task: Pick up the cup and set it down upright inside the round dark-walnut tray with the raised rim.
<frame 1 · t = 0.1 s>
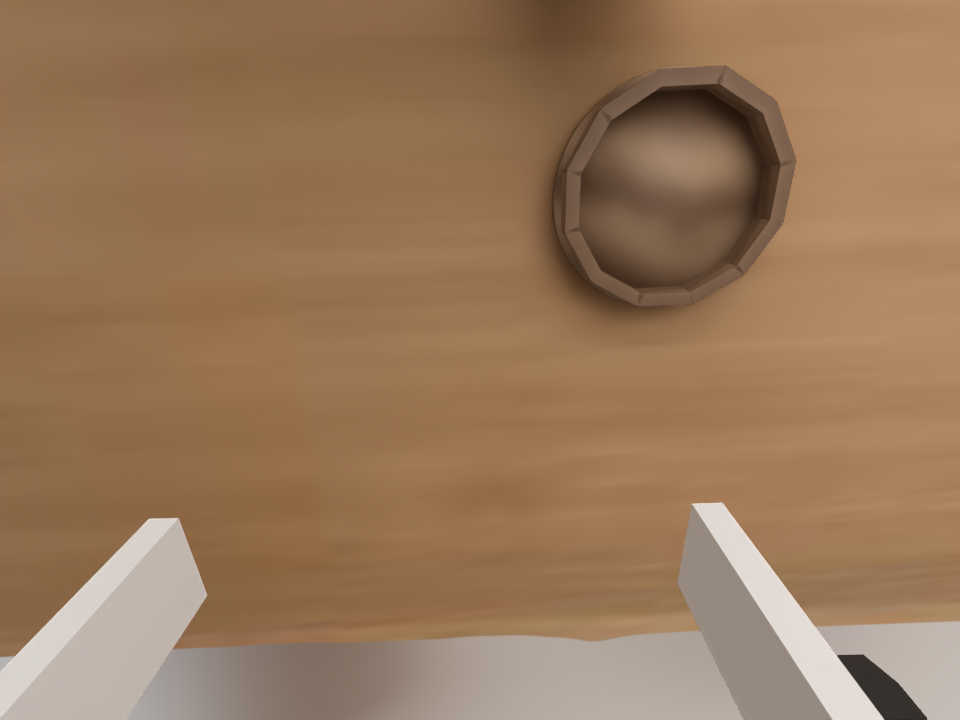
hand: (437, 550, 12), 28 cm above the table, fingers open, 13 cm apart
round tray: (662, 196, 35), on the table
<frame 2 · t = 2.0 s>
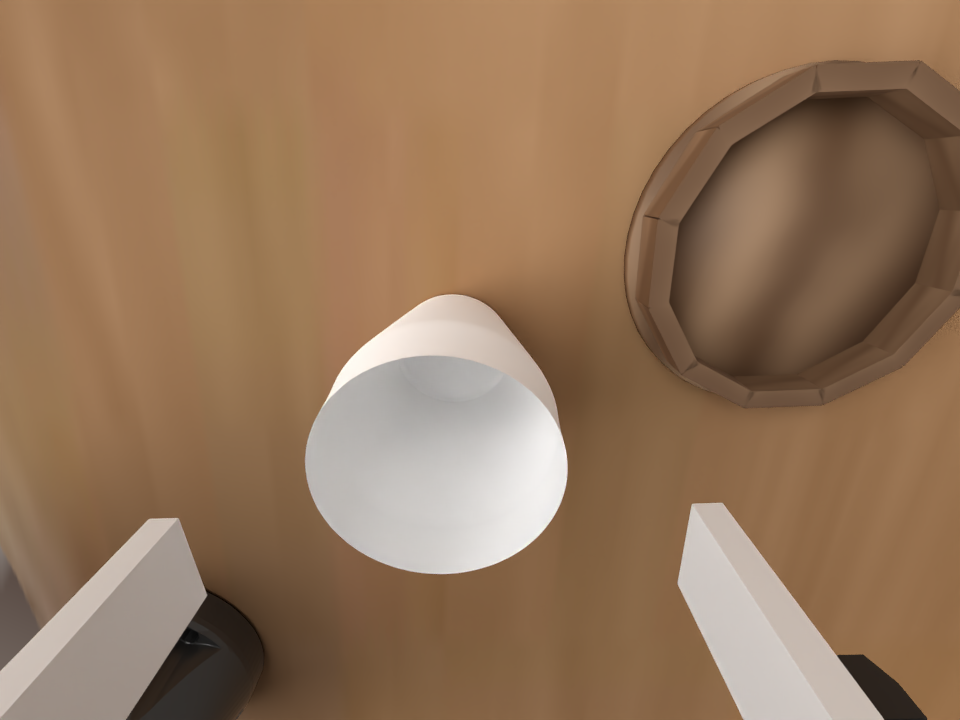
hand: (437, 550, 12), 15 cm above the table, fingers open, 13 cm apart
round tray: (782, 250, 24), on the table
cup: (453, 348, 26), on the table
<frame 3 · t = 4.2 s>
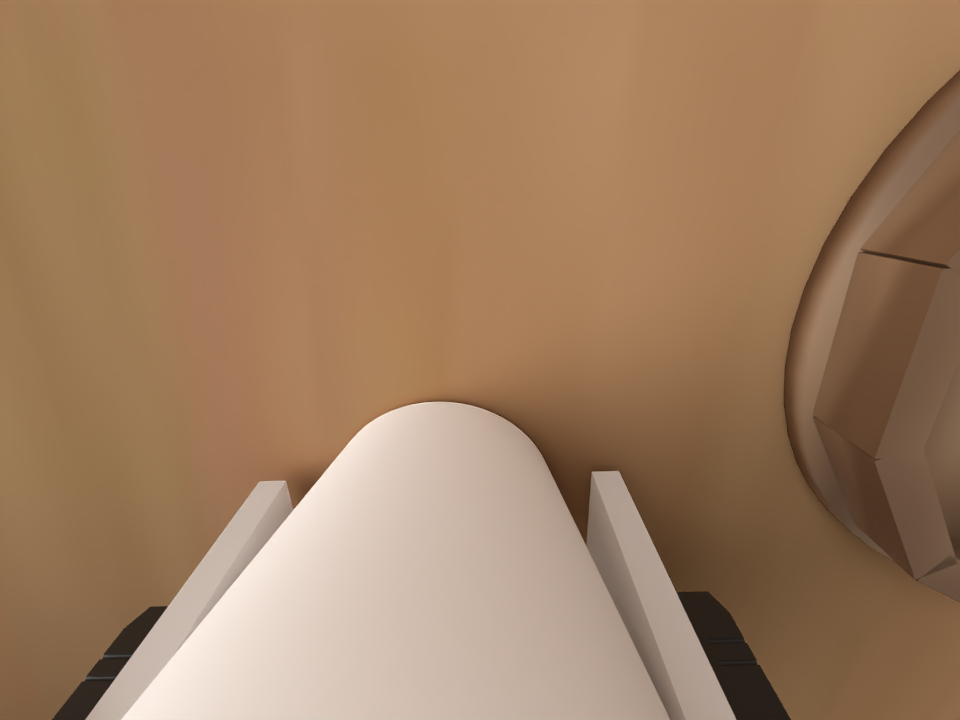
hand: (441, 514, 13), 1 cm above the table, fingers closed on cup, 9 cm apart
cup: (444, 490, 14), on the table, touching gripper
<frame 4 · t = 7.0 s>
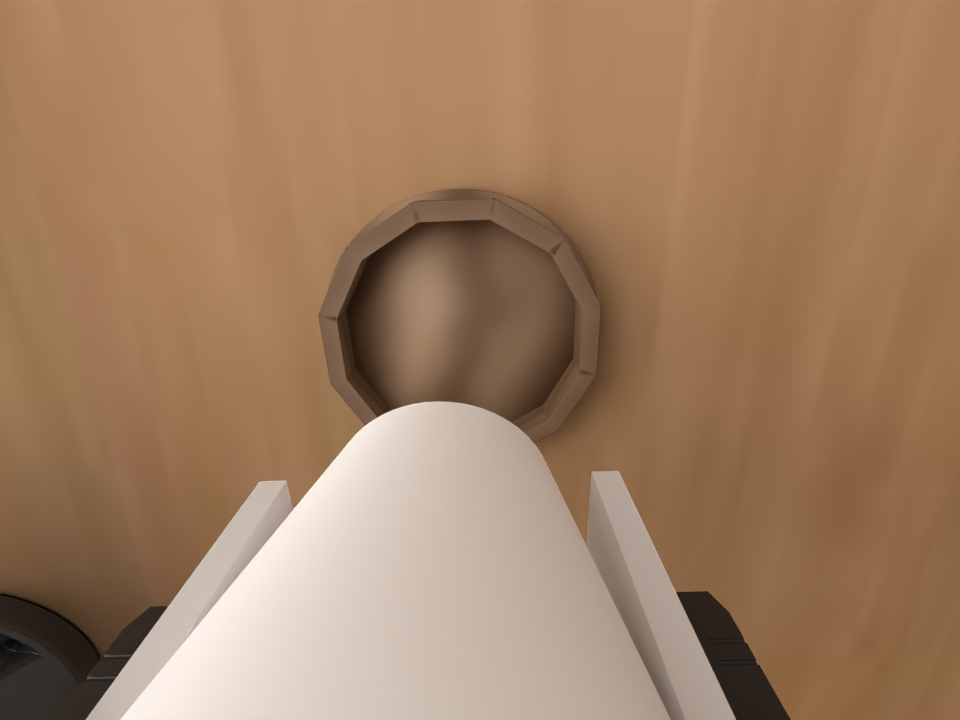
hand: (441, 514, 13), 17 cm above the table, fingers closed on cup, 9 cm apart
round tray: (462, 330, 28), on the table
cup: (444, 490, 14), point 16 cm above the table, touching gripper
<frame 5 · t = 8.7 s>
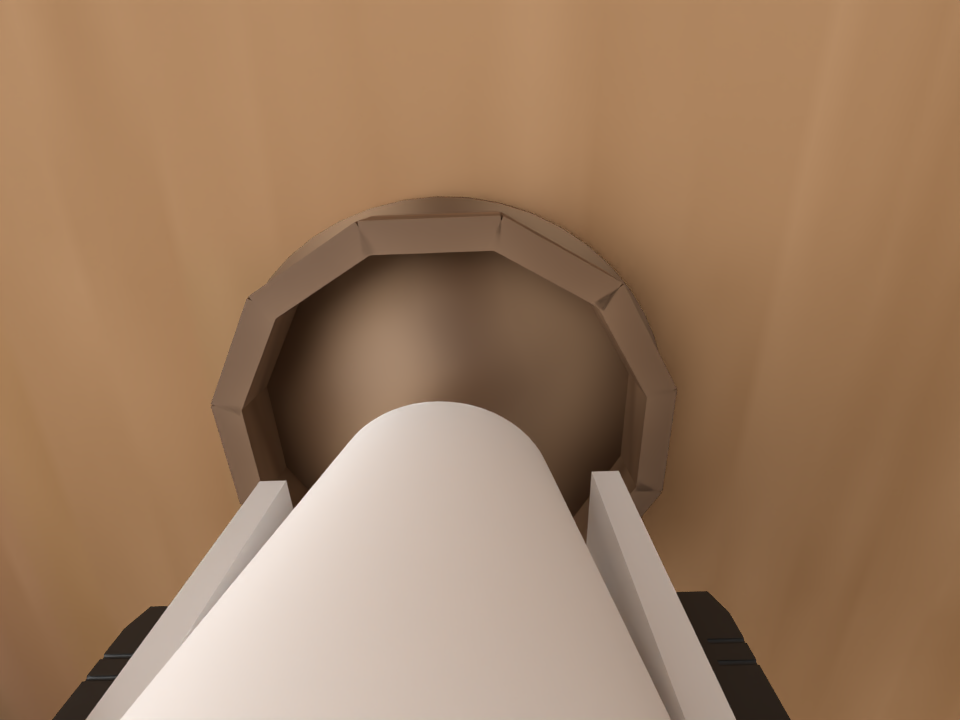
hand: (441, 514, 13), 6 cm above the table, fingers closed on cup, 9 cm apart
round tray: (451, 412, 19), on the table
cup: (444, 490, 14), point 5 cm above the table, touching gripper
when the fingers open (4 cm above the table, at t = 10.1 s): cup drops 2 cm, resting on round tray.
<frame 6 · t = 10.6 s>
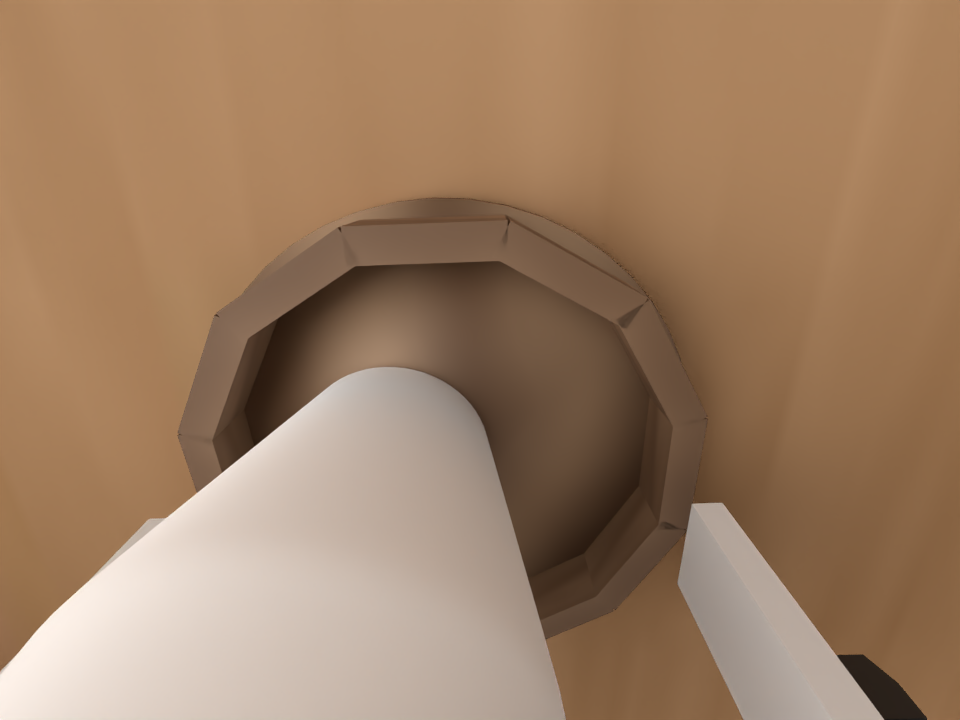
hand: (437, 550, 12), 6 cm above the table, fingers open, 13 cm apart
round tray: (450, 437, 17), on the table
cup: (397, 446, 16), point 1 cm above the table, touching round tray
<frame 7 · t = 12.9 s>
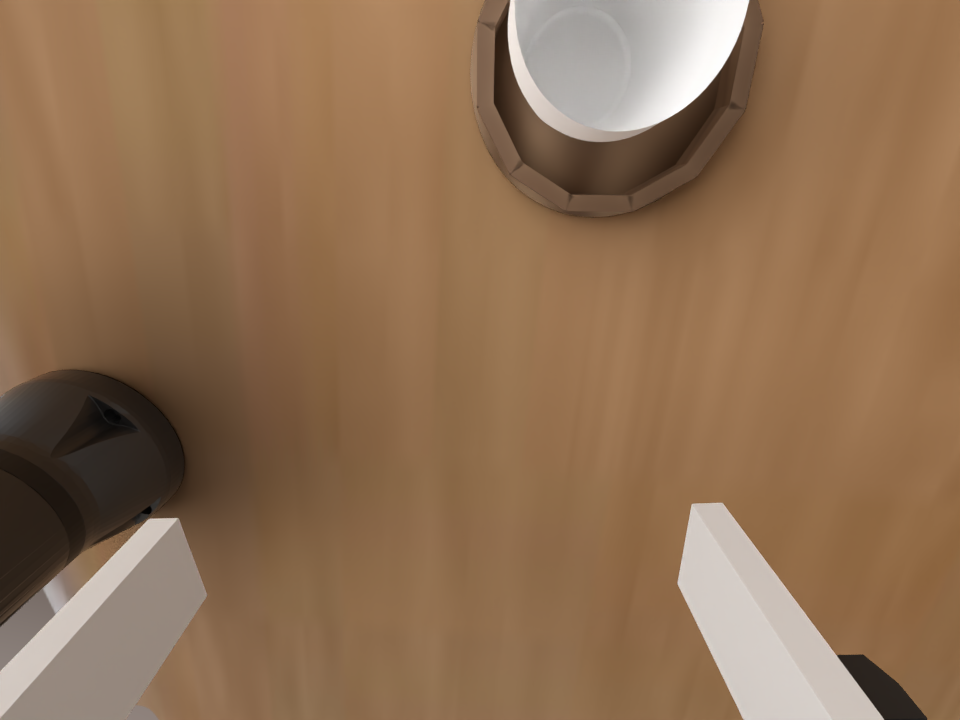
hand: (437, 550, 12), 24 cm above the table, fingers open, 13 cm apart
round tray: (603, 76, 28), on the table
cup: (575, 73, 28), point 1 cm above the table, touching round tray
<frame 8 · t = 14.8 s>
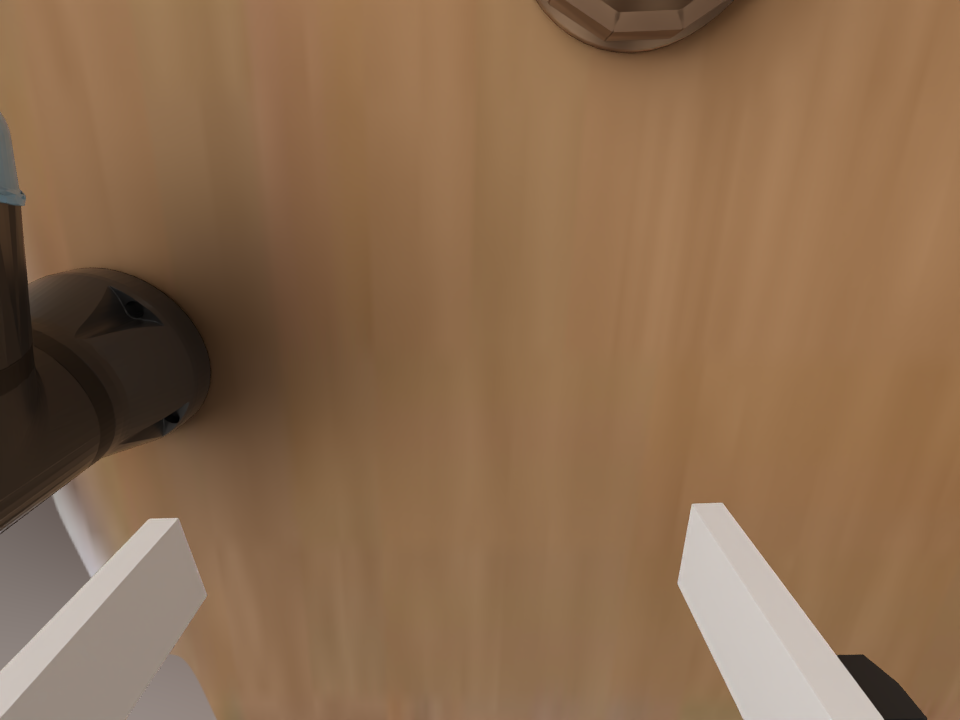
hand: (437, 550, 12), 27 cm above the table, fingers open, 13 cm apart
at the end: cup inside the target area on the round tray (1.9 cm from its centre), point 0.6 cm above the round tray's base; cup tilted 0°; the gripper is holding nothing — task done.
